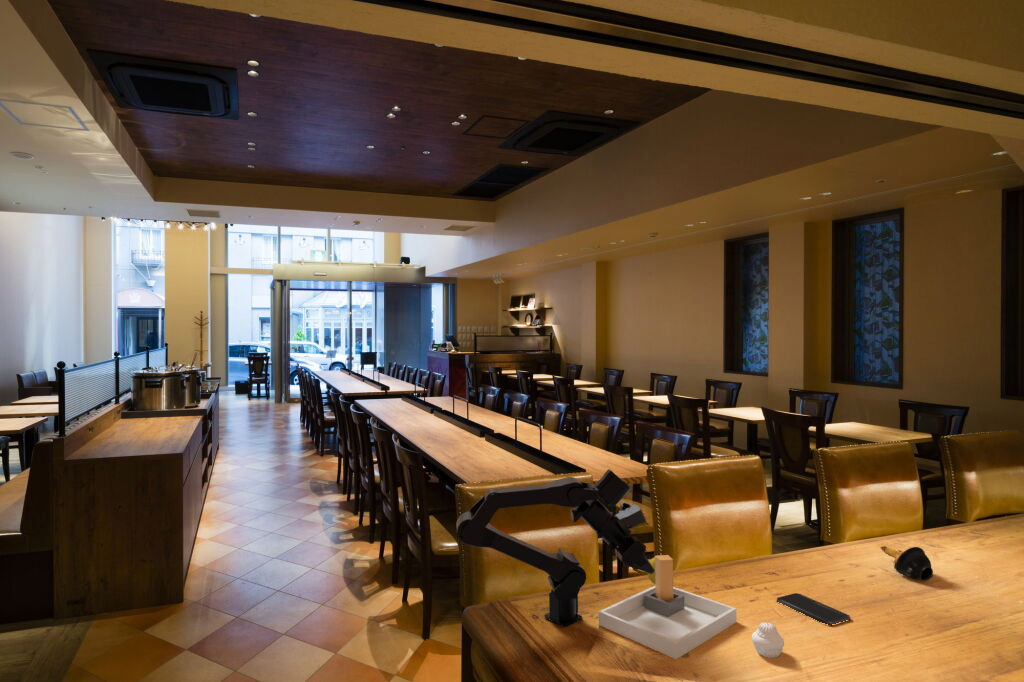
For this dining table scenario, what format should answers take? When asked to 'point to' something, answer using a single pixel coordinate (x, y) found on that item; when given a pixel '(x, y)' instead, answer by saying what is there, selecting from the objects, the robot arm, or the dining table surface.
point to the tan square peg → (664, 577)
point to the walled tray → (668, 620)
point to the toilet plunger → (911, 562)
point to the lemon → (652, 576)
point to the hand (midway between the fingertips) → (646, 565)
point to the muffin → (768, 640)
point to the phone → (813, 608)
